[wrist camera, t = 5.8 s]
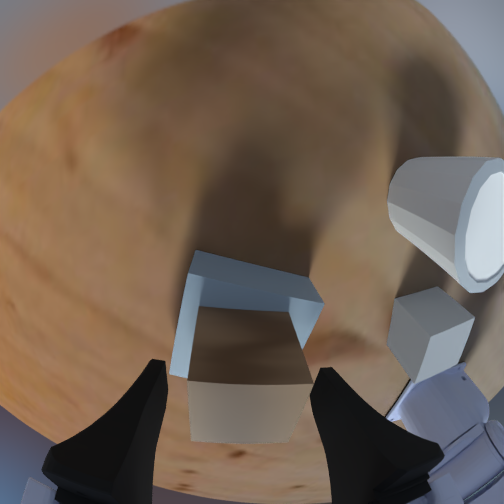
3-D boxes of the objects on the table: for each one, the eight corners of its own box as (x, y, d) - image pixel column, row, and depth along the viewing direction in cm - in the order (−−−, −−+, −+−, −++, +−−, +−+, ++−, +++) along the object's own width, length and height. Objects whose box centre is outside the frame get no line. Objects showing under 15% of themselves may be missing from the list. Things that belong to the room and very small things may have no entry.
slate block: (307, 275, 17) (324, 303, 14) (271, 357, 19) (278, 392, 16) (196, 247, 16) (188, 273, 12) (177, 339, 18) (169, 374, 15)
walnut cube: (288, 312, 14) (313, 383, 9) (273, 373, 15) (288, 442, 10) (199, 306, 13) (187, 380, 8) (197, 369, 15) (191, 440, 10)
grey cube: (437, 285, 18) (475, 317, 13) (426, 330, 20) (457, 363, 15) (394, 298, 18) (430, 336, 13) (386, 343, 19) (414, 384, 15)
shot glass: (396, 130, 14) (480, 130, 7) (461, 172, 15) (533, 192, 8) (364, 232, 16) (433, 282, 9) (433, 257, 17) (496, 301, 10)
